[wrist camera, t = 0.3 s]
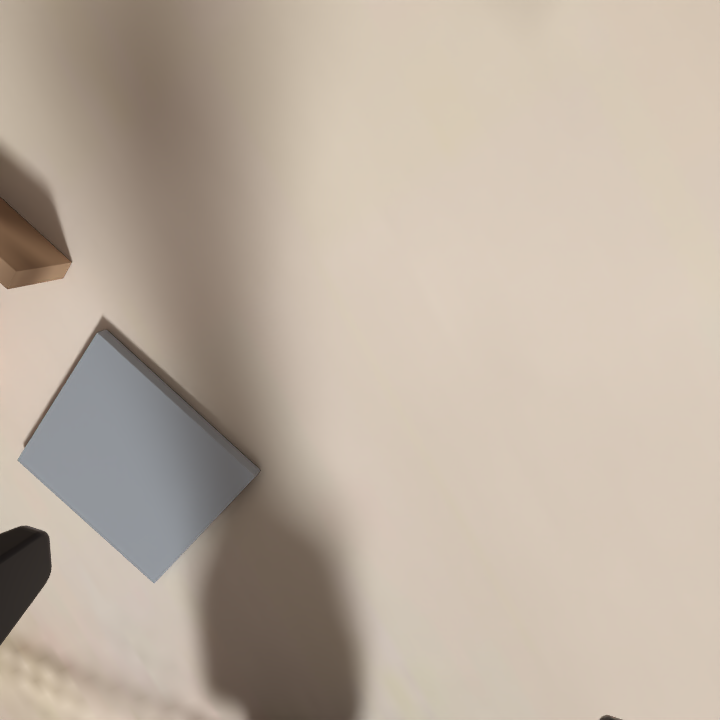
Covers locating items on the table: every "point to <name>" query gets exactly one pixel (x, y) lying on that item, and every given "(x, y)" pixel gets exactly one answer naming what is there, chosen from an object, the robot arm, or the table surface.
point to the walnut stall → (26, 252)
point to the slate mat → (134, 458)
